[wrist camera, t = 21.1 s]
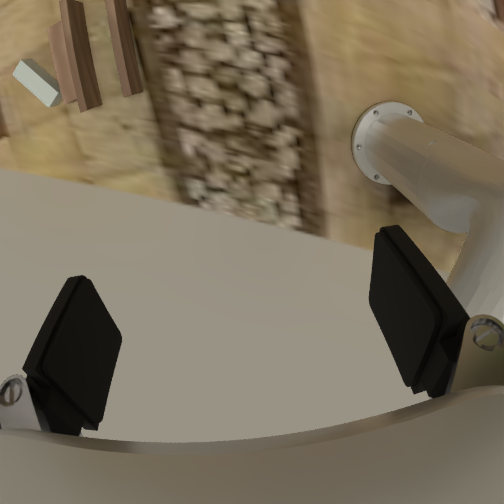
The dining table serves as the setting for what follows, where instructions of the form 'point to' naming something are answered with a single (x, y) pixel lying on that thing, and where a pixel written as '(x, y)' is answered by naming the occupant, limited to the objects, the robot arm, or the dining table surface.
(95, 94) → the walnut rack
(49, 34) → the offcut lower
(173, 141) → the dining table surface
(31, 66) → the offcut upper
